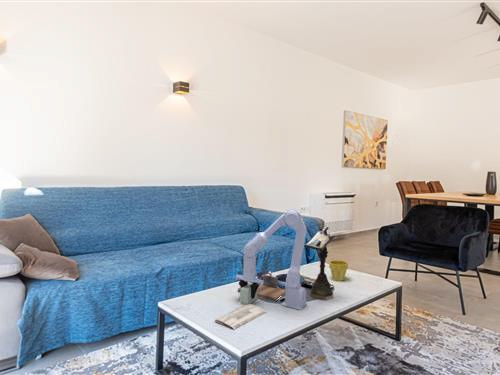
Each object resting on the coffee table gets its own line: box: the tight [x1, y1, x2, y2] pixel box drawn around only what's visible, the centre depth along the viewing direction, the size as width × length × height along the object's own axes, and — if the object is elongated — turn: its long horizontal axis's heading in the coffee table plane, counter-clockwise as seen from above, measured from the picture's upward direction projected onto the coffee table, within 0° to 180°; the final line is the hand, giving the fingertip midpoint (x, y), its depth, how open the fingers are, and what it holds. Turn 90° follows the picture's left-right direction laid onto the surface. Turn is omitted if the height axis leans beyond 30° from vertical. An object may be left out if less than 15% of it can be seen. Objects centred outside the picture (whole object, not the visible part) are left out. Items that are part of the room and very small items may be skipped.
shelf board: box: [237, 274, 285, 302], centre depth 182 cm, size 22×13×7 cm, turn 58°
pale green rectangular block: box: [239, 282, 258, 305], centre depth 170 cm, size 4×9×7 cm, turn 148°
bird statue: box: [304, 226, 336, 301], centre depth 176 cm, size 17×13×35 cm
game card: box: [256, 270, 273, 280], centre depth 196 cm, size 7×5×9 cm
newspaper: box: [214, 303, 268, 331], centre depth 153 cm, size 23×12×2 cm, turn 141°
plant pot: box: [328, 259, 349, 282], centre depth 204 cm, size 10×10×10 cm
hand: (248, 296), depth 170 cm, fingers closed on pale green rectangular block, 4 cm apart
